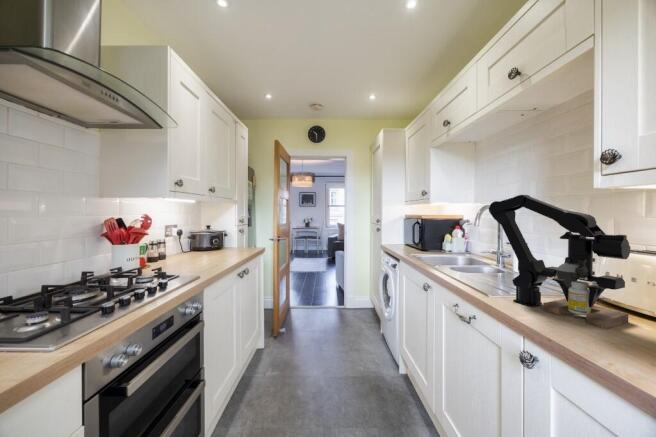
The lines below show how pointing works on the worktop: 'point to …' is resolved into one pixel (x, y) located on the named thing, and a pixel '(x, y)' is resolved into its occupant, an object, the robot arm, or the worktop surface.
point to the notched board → (597, 317)
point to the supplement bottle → (579, 298)
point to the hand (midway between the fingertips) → (579, 304)
